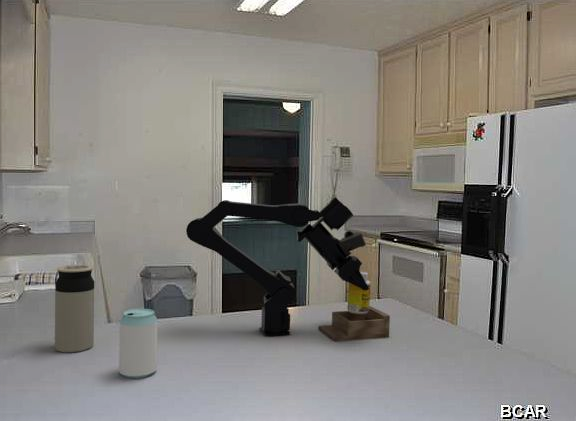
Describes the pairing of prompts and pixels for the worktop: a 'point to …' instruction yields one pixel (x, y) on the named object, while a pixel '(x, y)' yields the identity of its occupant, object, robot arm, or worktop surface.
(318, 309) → the worktop surface
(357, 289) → the supplement bottle
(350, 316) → the open wooden box
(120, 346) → the can
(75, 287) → the travel mug
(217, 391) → the worktop surface
